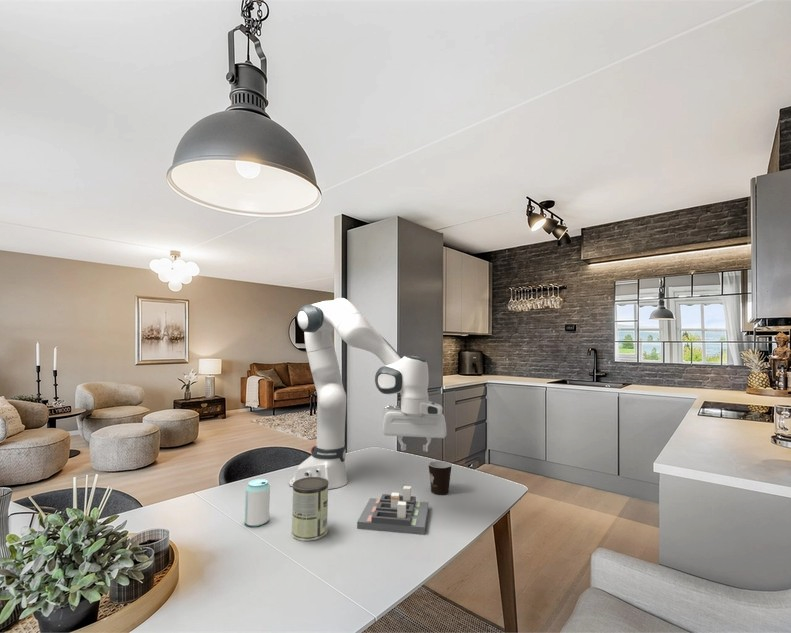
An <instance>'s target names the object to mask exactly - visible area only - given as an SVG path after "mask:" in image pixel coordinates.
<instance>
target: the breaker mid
mask: <svg viewBox="0 0 791 633" xmlns="http://www.w3.org/2000/svg"><path fill="white" fill-rule="evenodd" d="M390 495H391V508H397V504H398V501H399V497H400V492H391V493H390Z"/></svg>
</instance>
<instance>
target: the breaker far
mask: <svg viewBox="0 0 791 633" xmlns="http://www.w3.org/2000/svg"><path fill="white" fill-rule="evenodd" d="M402 496H403V500H405V501H411V496H412V486H410V485H403V488H402Z"/></svg>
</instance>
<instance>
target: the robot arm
mask: <svg viewBox="0 0 791 633" xmlns="http://www.w3.org/2000/svg"><path fill="white" fill-rule="evenodd" d="M296 320H297V324H298V327H299V328H300V329H301V330H302V331H303V332H304V333H303V334H304V345H305V346H304V347H305V350H306V354H307V359H308V363H309V367H310V372H311V375H312V380H313V384H314V388H315V390H316V391H315V392H316V396H317V400H316V402H317V404H316V405H317V406H316V408H317V409H316V439H315V440H316V441H315V442H316V443H315V444H314V445H313V446H312V447H311V449H310V453H311V455H310V456H308V457H307V458H306V459H305V460H304V461H302V462H301V463H300V464H299V465H298V466H297V469H296V471H295V475H293V477H292V478H290V480H289V484H288V486H289V487H293V483H294V482H295V481H297V480H299V479H302V478H307V477H321V478H324V479H327V480H328V482H329V485H328V490H331V489H337V488H341V487H344V486H345V485H347V484H348V483H349V480H348V475H347V471H346V462H345V461H346V455H347V452H346V451H347V450H346V445H345V440H346V439H345V435H346V434H345V433H346V430H345V429H346V416H347V415H346V414H347V393H346V391H345V389H344V385H343V380H342V376H341V375H342V374H341V370H340V367H339V361H338V357H337V353H336V349H335V348H336V347H335V343H334V340H333V337H332V336H333V335H332V333H333V331H334V330H335V331H336V333H337V334H338V335H339V337H340V338H341V339H342V341H344V342H345V343H346V344H347V345H348V346H349V347H352V348H357V349H361V350H364V351H367V352H370V353H372V354H373V355H375V356H376V357H377V358H378V360H380V361H381V363H383V364H384V366H381V367H379V368H378V369H377V371H376V372H375V376H374V383H375V387H376V389H377V390H378V391H379V392H380V393H381V394H384V395H394V394H400V405H387V406H385V407H384V408H383V410H382V418H383V425H382V433H383V435H384V436H389V437H390V436H391V437H392V436H393V437H397V441H398V443H399V444H400V451H407V443H404V441H403V438H404V437H410V438H411V437H412V438H413V437H414V438H426V441H427V442H425V443H426V444H423V445H422V452H424V453H428V450H429V445H430V444H431V443H432V442H431V441H432V439H445V438H446V436H447V423H446V417H445V415H444V413H443V406H442V405H441V404H439V403H436V402H433V401H431V400H429V399H430V397H429V392H428V388H429V383H430V382H429V380H430V378H429V377H430V376H429V366H428V363H427V360H426V359H425V358H424V357H422V356H418V355H412V354H407V355H404V356H403V357H402V356H401V354H399V353H398V351H397V350H395V349H394V347H393V346H392V345H391V344H390V343H389V342H388V340H386V339H385V338H384V337H383V336H382V335H381V334H380V333H379V332H378V331H377V330H376V329H375V328H374V327H373V326H372V324H371V323H370V322H369V321H368V319H366V317H364V315H363V313H362V312H361V311H360V310H359V308H357V307H356V306H355V305H354V304H353V303H352V302H351V301H350V300H348V299H346V298H344V297H338V298H335V299H333V300H322V301H320V302H316V303H312V304H311V303H310V304H305V305H303V306H302V307H300V308H299V309H298V311H297V314H296Z"/></svg>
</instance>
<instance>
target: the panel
mask: <svg viewBox="0 0 791 633" xmlns="http://www.w3.org/2000/svg"><path fill="white" fill-rule="evenodd" d="M416 499H417V497H416V496H414V495H413V496H412V495H411V501H405V500H403V494H402V495H400V497H399V501H401V502H406V519H405V518H397V508H391V494H386V493H382V495H381V496H380V498H376V497H375V498H374V497H370V498H368V502H367V503H366V505H365V507H364V509H363V510H362V512H361V514H360V516H359V518H358V519H357V521H356V525H357V526H356V528H357V529H358V530H359V529H360V530H366V531H367V530H368V531H370V530H371V531H382V532H392V533H403V534H404V533H405V534H416V535H425V533H426V527H427V519H428V513H429V502H428V501H418V500H416Z"/></svg>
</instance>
